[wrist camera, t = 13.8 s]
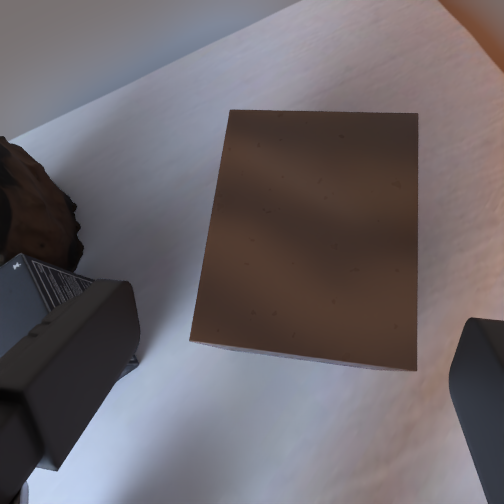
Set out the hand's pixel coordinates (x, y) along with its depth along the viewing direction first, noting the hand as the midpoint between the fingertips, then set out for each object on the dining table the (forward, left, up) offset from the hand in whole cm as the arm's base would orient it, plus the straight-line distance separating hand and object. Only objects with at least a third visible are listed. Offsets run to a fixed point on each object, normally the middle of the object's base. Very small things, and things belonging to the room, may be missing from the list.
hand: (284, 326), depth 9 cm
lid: (-4, +8, -15) cm, 17 cm away
